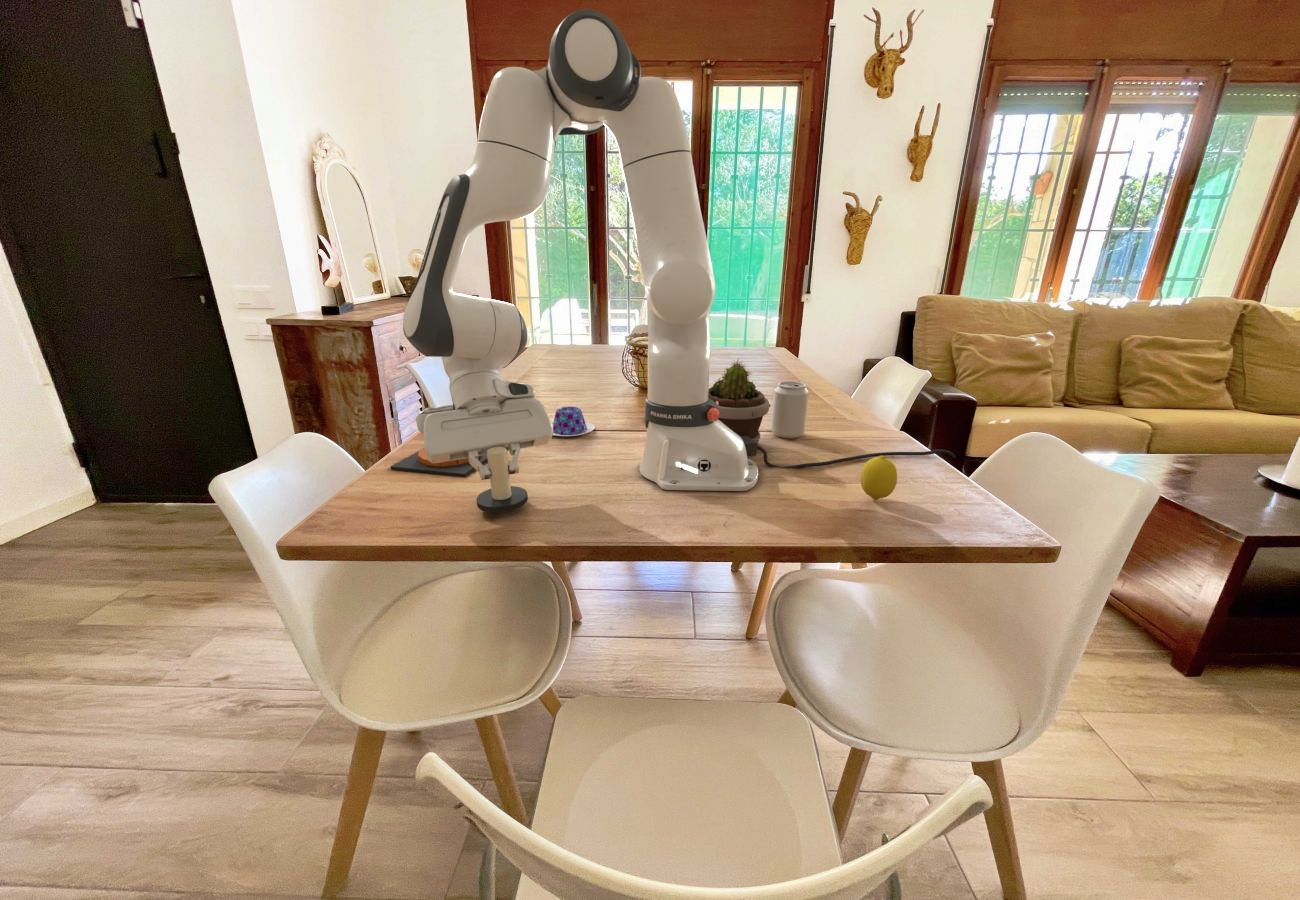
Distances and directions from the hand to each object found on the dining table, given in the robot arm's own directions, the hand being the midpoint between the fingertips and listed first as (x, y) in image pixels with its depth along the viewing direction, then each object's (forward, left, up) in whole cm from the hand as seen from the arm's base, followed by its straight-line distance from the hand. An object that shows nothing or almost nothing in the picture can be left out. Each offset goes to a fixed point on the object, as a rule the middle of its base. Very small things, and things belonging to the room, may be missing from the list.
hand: (500, 475), depth 82 cm
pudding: (+5, -40, -6) cm, 41 cm away
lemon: (-59, -17, -6) cm, 62 cm away
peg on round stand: (0, 0, -5) cm, 5 cm away
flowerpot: (-33, -39, -6) cm, 51 cm away
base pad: (+22, -18, -6) cm, 29 cm away
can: (-45, -49, -6) cm, 67 cm away
